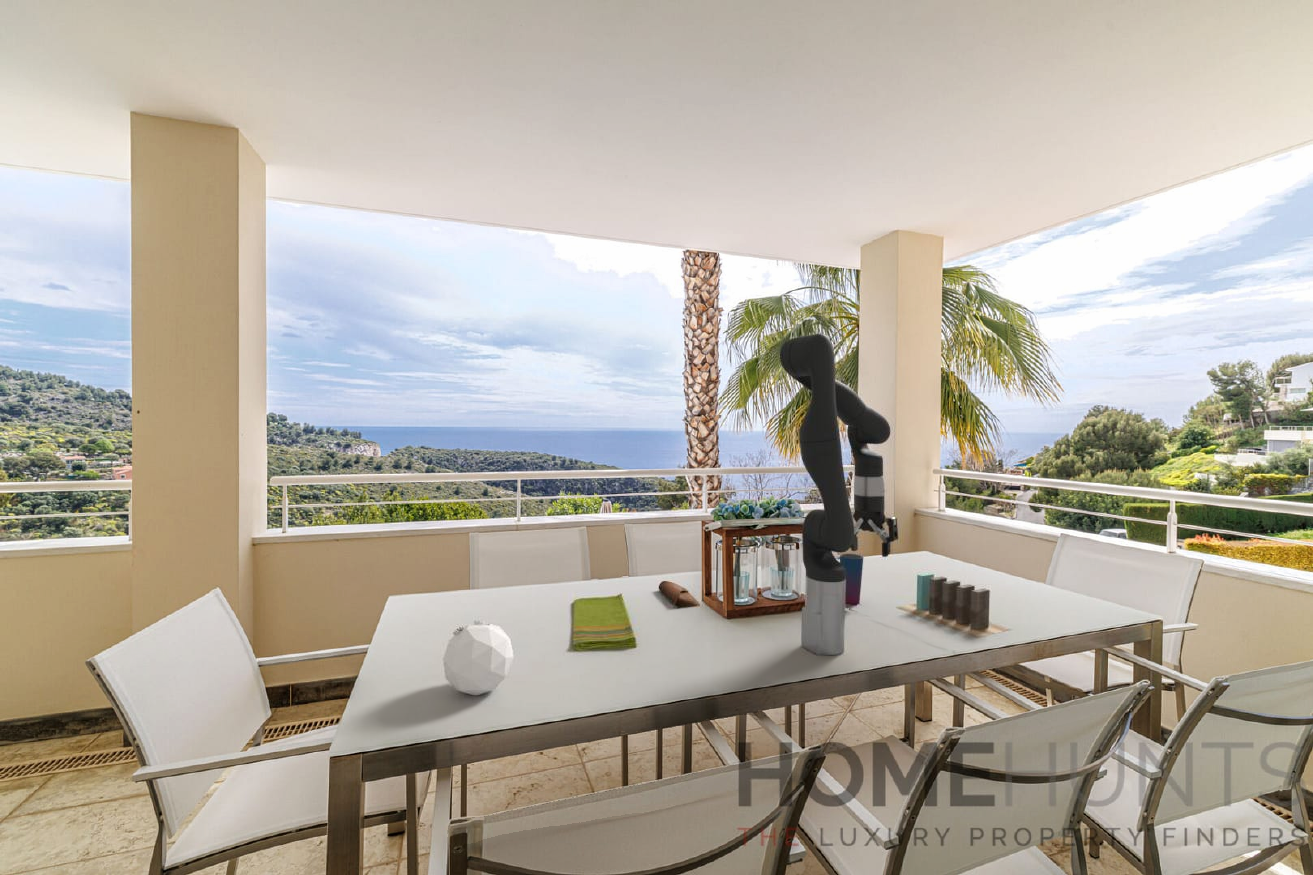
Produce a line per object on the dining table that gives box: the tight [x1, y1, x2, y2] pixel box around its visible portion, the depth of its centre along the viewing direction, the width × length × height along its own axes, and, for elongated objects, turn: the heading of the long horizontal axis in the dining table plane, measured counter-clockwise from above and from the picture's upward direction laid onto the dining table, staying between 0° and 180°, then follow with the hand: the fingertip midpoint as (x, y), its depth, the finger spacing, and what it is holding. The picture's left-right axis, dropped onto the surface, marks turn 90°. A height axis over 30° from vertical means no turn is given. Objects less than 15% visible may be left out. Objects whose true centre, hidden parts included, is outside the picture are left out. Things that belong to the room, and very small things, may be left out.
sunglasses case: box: [658, 580, 701, 609], centre depth 170 cm, size 18×7×7 cm, turn 17°
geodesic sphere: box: [442, 620, 515, 696], centre depth 109 cm, size 14×14×14 cm
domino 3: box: [942, 580, 961, 620], centre depth 153 cm, size 5×2×10 cm, turn 115°
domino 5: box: [971, 588, 991, 630], centre depth 146 cm, size 5×2×10 cm, turn 115°
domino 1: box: [916, 572, 935, 610], centre depth 161 cm, size 5×2×10 cm, turn 115°
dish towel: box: [572, 593, 638, 651], centre depth 148 cm, size 15×36×3 cm, turn 9°
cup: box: [839, 552, 864, 608], centre depth 166 cm, size 7×7×15 cm
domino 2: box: [929, 576, 948, 615], centre depth 157 cm, size 5×2×10 cm, turn 115°
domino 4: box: [956, 583, 976, 625], centre depth 149 cm, size 5×2×10 cm, turn 115°
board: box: [895, 603, 1012, 638], centre depth 153 cm, size 14×25×1 cm, turn 25°
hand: (869, 553), depth 146 cm, fingers open, 8 cm apart
